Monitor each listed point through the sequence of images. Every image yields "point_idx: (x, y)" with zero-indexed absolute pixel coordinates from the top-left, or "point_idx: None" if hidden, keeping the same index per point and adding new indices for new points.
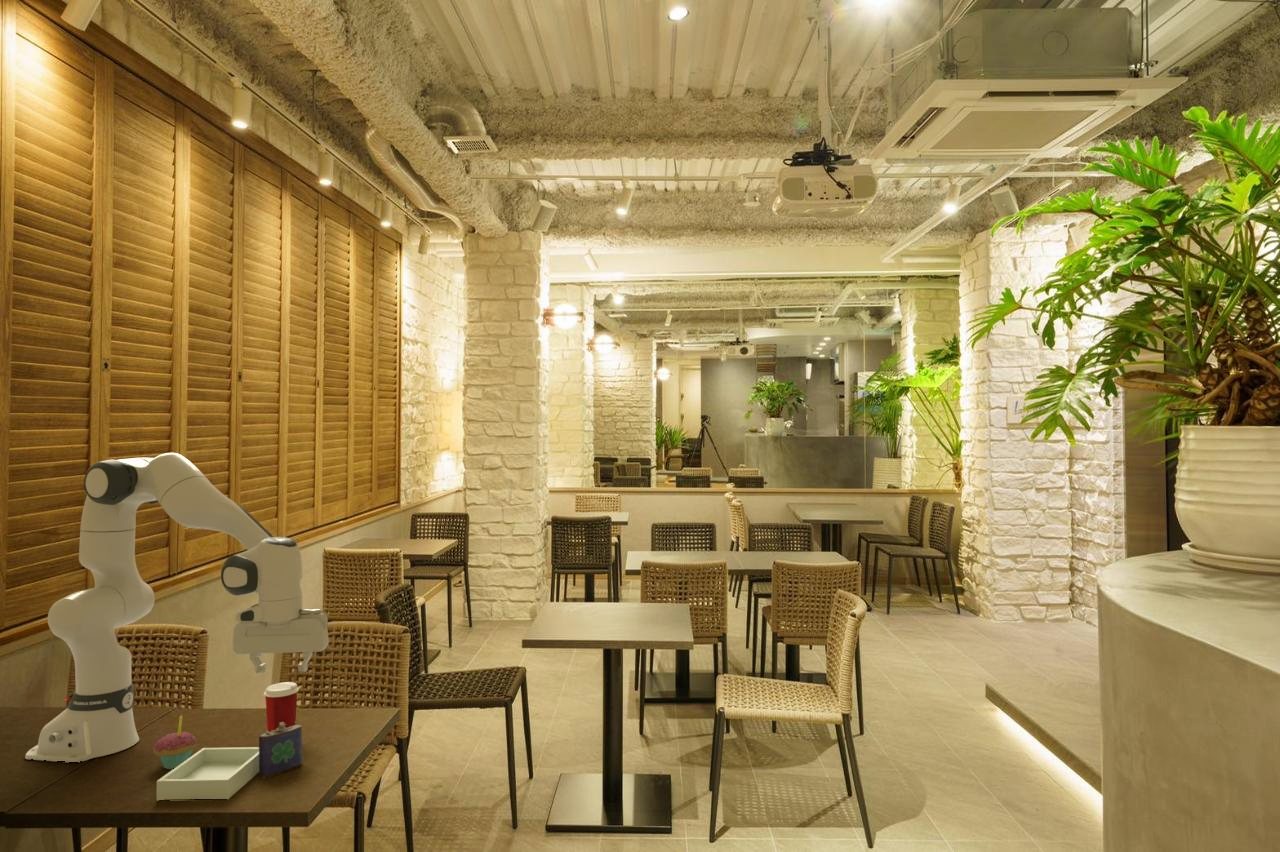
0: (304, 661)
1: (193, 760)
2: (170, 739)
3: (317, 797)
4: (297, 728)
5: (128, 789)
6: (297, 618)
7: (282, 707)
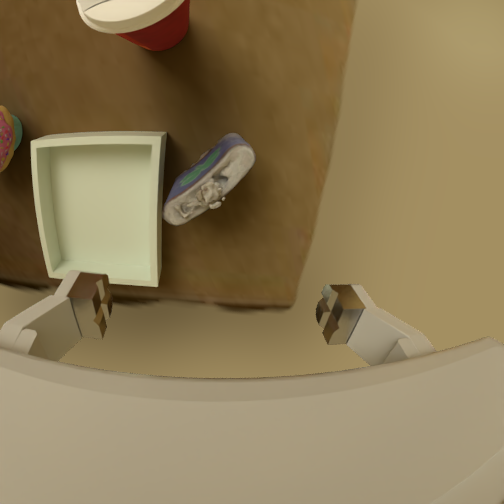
0: (367, 355)
1: (41, 185)
2: None
3: (300, 272)
4: (248, 171)
5: (4, 221)
6: None
7: (155, 29)
